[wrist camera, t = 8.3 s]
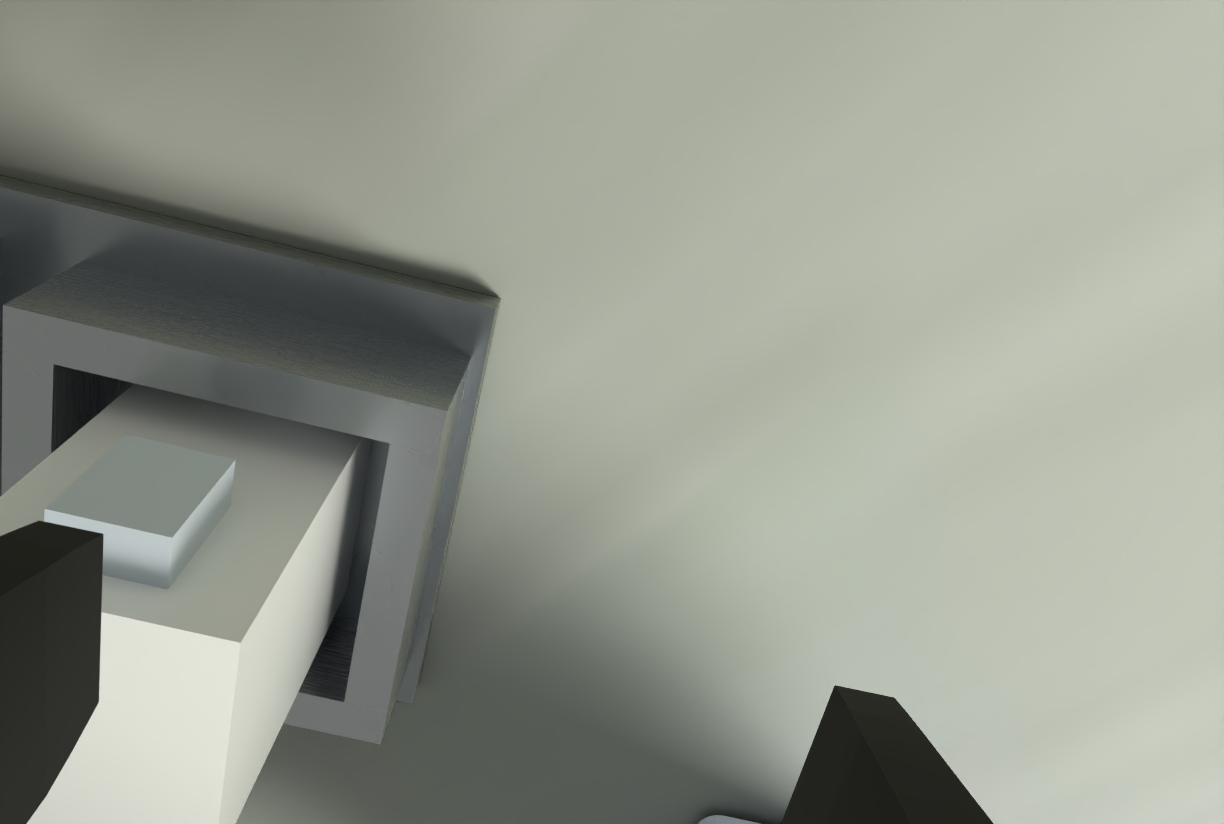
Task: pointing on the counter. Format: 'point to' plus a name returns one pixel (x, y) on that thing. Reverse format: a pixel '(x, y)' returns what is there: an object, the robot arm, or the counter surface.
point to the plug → (195, 594)
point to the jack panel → (258, 391)
